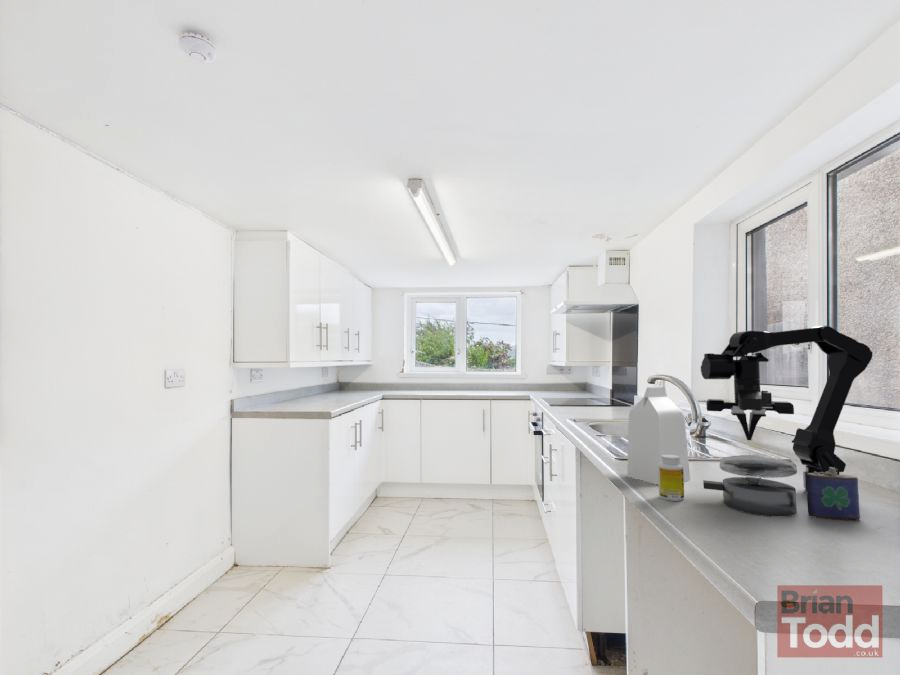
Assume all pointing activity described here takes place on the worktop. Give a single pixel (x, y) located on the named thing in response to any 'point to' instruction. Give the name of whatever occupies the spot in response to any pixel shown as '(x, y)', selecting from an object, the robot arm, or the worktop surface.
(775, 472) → the cooker lid
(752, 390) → the robot arm
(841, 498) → the flask
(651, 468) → the milk
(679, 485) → the supplement bottle
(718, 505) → the worktop surface
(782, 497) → the cooker pot
